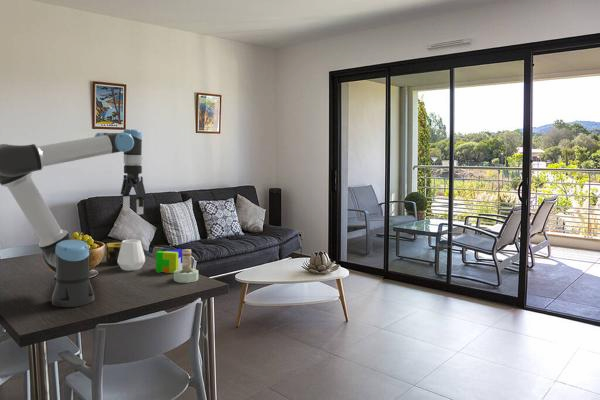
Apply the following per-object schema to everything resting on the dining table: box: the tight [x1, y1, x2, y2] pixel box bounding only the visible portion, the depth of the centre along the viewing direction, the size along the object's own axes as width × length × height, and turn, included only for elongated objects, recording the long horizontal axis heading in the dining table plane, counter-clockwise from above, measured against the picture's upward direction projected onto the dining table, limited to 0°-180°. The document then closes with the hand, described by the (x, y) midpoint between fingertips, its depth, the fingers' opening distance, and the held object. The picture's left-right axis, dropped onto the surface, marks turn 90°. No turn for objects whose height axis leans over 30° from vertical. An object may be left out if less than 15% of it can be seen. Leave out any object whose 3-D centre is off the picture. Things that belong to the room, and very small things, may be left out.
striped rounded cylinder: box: [182, 248, 192, 273], centre depth 222 cm, size 4×4×14 cm
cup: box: [117, 239, 146, 272], centre depth 239 cm, size 13×13×14 cm
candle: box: [105, 242, 122, 267], centre depth 250 cm, size 10×10×10 cm
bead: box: [173, 268, 199, 284], centre depth 222 cm, size 10×10×4 cm
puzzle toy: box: [155, 247, 184, 274], centre depth 238 cm, size 10×10×10 cm
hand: (133, 212), depth 213 cm, fingers open, 13 cm apart
